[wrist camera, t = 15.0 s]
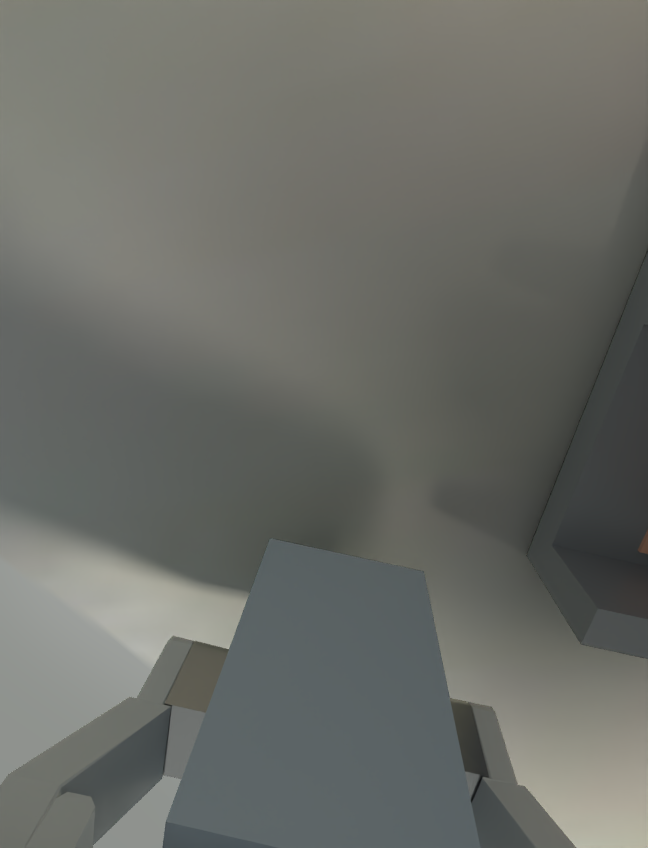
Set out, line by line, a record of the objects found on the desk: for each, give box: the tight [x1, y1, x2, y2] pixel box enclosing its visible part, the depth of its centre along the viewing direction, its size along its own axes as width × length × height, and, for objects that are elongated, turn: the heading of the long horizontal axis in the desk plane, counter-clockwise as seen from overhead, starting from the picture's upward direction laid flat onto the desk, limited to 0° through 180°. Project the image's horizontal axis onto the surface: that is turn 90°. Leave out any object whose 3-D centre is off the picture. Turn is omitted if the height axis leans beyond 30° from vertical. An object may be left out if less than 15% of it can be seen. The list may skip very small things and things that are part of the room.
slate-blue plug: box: [163, 538, 480, 848], centre depth 9 cm, size 4×4×6 cm
